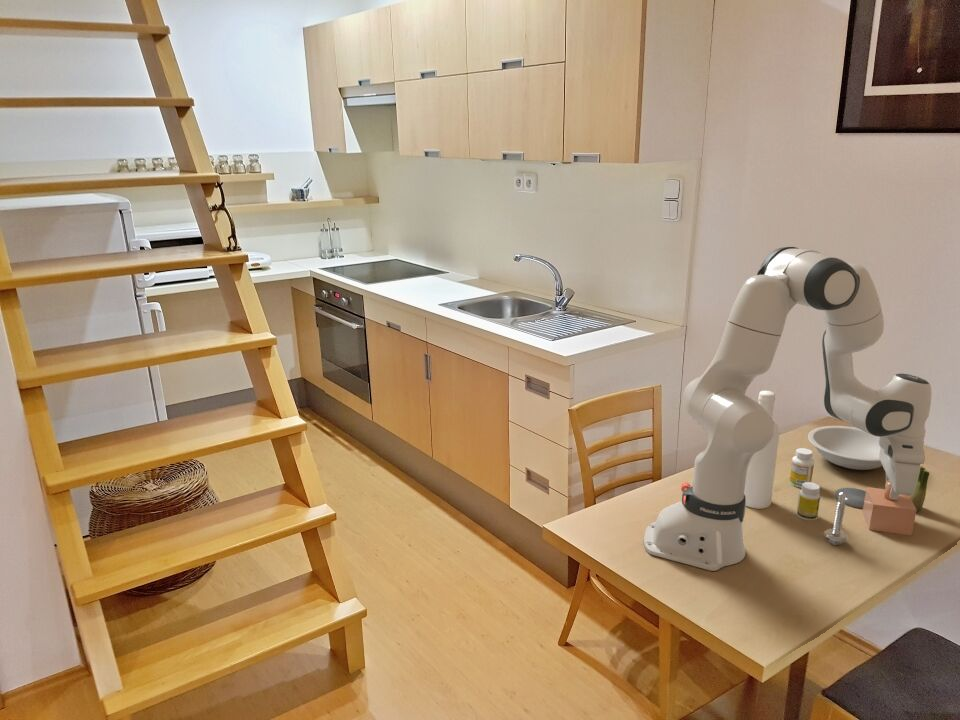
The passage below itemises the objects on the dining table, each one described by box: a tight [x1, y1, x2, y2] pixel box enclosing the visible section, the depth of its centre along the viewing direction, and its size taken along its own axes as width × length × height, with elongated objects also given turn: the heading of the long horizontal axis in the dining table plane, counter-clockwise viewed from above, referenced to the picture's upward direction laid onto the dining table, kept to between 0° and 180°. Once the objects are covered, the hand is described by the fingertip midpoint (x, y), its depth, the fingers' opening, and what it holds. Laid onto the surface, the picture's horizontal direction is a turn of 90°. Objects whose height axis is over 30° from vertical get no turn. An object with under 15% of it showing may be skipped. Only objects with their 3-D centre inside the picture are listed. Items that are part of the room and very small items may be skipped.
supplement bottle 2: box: [796, 481, 821, 521], centre depth 175 cm, size 5×5×8 cm
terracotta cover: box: [862, 481, 917, 537], centre depth 171 cm, size 9×9×11 cm
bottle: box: [744, 390, 780, 510], centre depth 179 cm, size 8×8×30 cm
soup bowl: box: [807, 425, 883, 471], centre depth 204 cm, size 24×24×7 cm
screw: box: [823, 492, 849, 546], centre depth 163 cm, size 13×5×5 cm
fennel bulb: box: [909, 465, 930, 512], centre depth 178 cm, size 6×5×12 cm
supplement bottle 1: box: [789, 447, 815, 489], centre depth 191 cm, size 5×5×10 cm
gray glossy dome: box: [834, 487, 866, 510], centre depth 184 cm, size 10×10×1 cm
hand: (891, 494), depth 171 cm, fingers closed on terracotta cover, 3 cm apart
